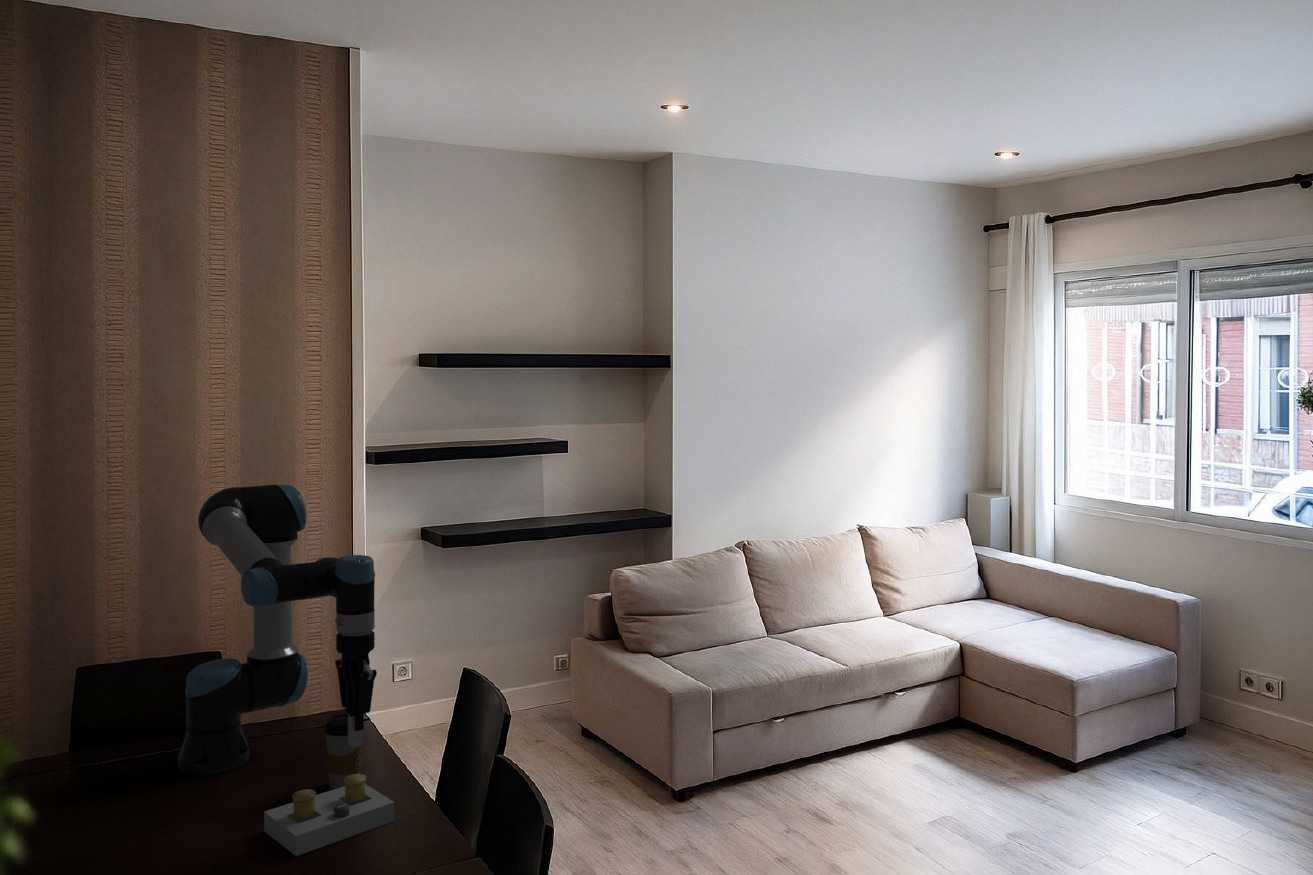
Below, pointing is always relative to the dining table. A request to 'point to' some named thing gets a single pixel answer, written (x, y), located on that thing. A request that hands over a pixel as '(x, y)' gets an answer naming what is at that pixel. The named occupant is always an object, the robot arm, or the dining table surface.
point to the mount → (328, 820)
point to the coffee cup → (340, 751)
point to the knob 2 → (355, 787)
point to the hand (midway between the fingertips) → (355, 744)
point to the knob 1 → (304, 803)
